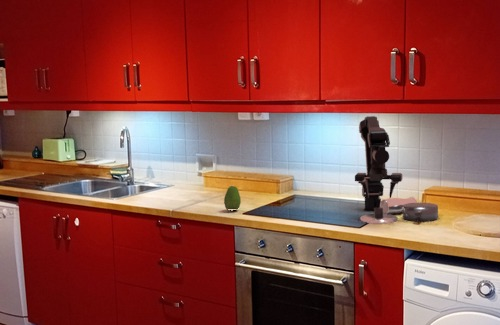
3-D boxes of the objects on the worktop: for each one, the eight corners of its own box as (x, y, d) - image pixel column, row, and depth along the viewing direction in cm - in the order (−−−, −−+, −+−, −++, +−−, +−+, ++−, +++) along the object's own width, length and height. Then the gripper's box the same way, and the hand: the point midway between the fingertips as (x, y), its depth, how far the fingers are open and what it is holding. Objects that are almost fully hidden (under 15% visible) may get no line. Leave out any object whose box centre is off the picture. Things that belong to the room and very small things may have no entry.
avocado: (243, 211, 275) (242, 186, 273) (227, 213, 272) (225, 188, 271) (238, 208, 282) (237, 183, 281) (222, 210, 280) (221, 185, 279)
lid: (357, 224, 242) (357, 211, 241) (364, 215, 256) (363, 204, 255) (394, 225, 236) (394, 212, 236) (399, 217, 250) (399, 204, 249)
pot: (399, 223, 237) (399, 211, 236) (405, 213, 254) (404, 202, 253) (436, 224, 232) (436, 212, 231) (439, 214, 249) (439, 202, 248)
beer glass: (420, 207, 254) (391, 210, 249) (412, 214, 260) (383, 218, 254) (414, 193, 257) (385, 196, 252) (406, 200, 263) (377, 203, 257)
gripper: (351, 163, 239) (352, 201, 241) (398, 163, 232) (399, 202, 234) (356, 159, 249) (357, 195, 251) (402, 159, 243) (402, 196, 245)
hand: (378, 197), depth 245 cm, fingers open, 9 cm apart
